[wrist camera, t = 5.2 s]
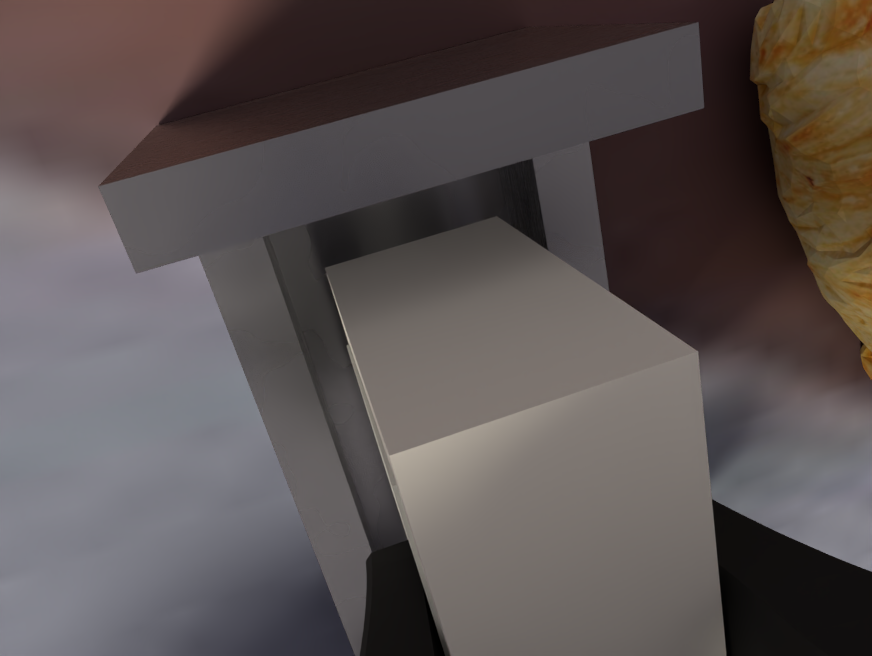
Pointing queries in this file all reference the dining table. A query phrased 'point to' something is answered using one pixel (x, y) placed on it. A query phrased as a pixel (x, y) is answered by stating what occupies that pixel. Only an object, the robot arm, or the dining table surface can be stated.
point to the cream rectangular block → (536, 449)
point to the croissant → (823, 141)
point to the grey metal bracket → (383, 221)
